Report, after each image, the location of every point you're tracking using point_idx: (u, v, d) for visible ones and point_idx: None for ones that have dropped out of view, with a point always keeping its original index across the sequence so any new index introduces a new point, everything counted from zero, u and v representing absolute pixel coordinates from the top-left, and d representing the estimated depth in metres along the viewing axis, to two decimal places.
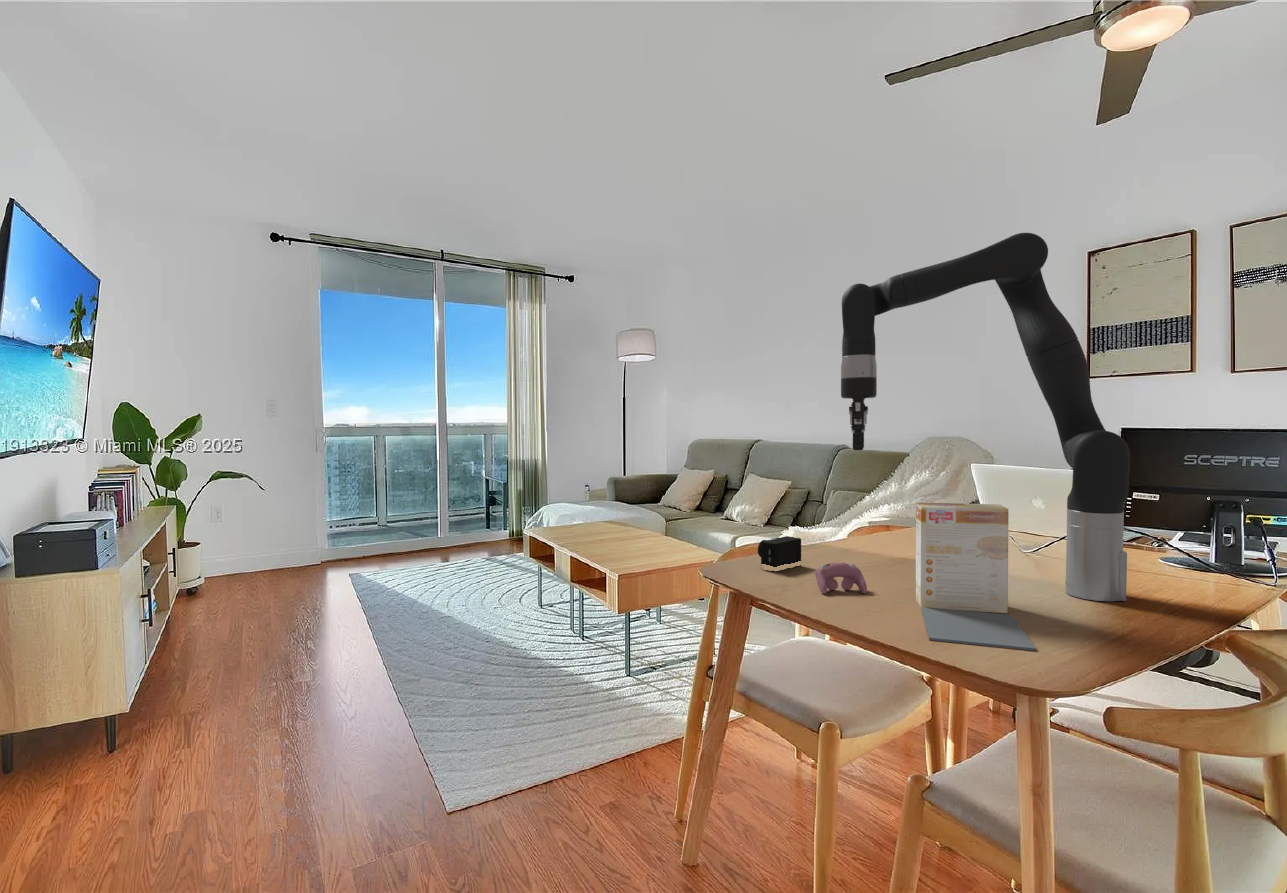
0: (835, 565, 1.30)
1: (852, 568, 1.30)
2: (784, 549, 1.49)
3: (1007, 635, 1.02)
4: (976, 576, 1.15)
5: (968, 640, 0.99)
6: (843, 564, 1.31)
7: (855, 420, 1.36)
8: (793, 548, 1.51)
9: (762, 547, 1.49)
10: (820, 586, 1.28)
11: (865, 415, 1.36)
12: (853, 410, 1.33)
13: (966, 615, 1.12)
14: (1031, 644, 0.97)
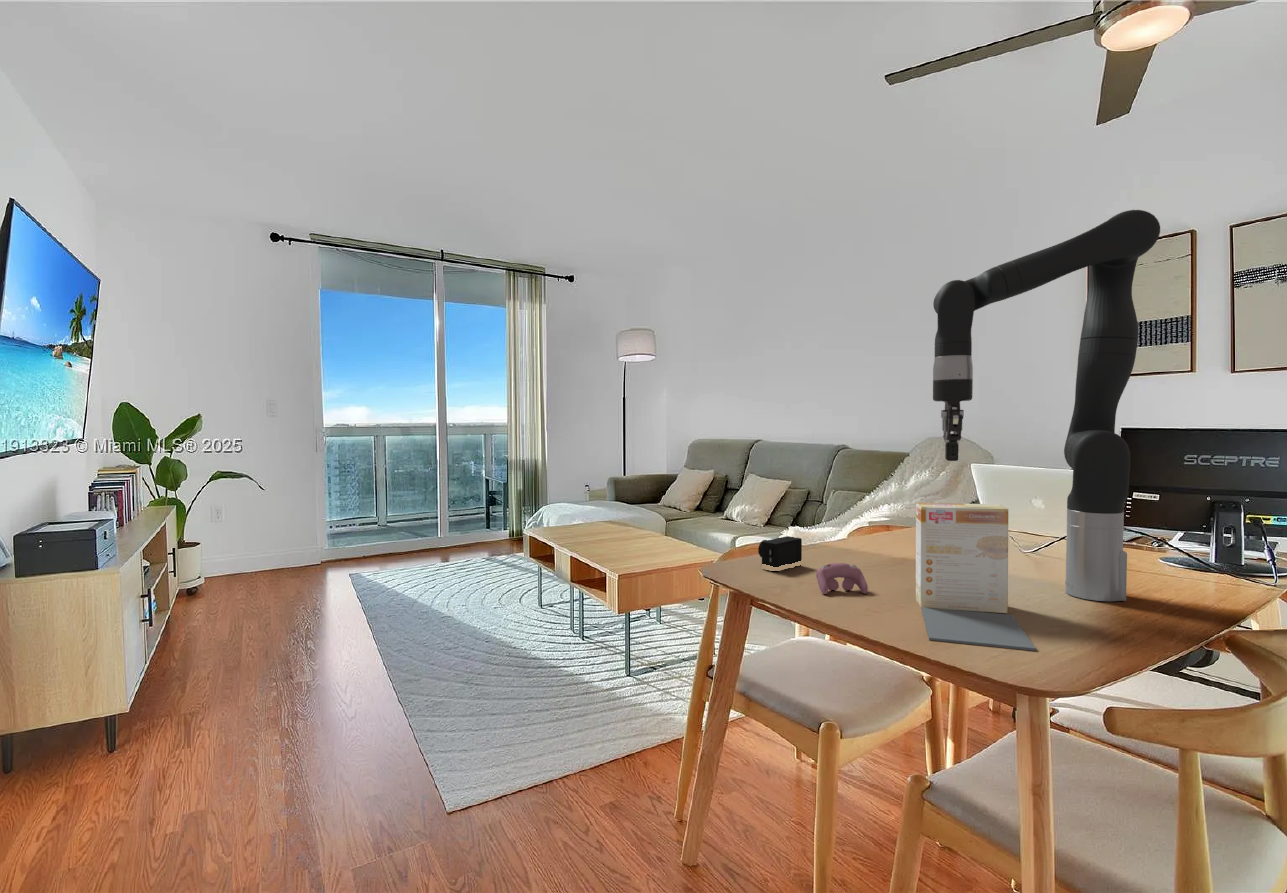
0: (836, 566, 1.30)
1: (853, 569, 1.30)
2: (784, 549, 1.49)
3: (1007, 635, 1.02)
4: (976, 576, 1.15)
5: (968, 640, 0.99)
6: (844, 564, 1.30)
7: None
8: (794, 548, 1.51)
9: (763, 547, 1.49)
10: (821, 587, 1.28)
11: None
12: (950, 424, 1.27)
13: (966, 615, 1.12)
14: (1031, 644, 0.97)
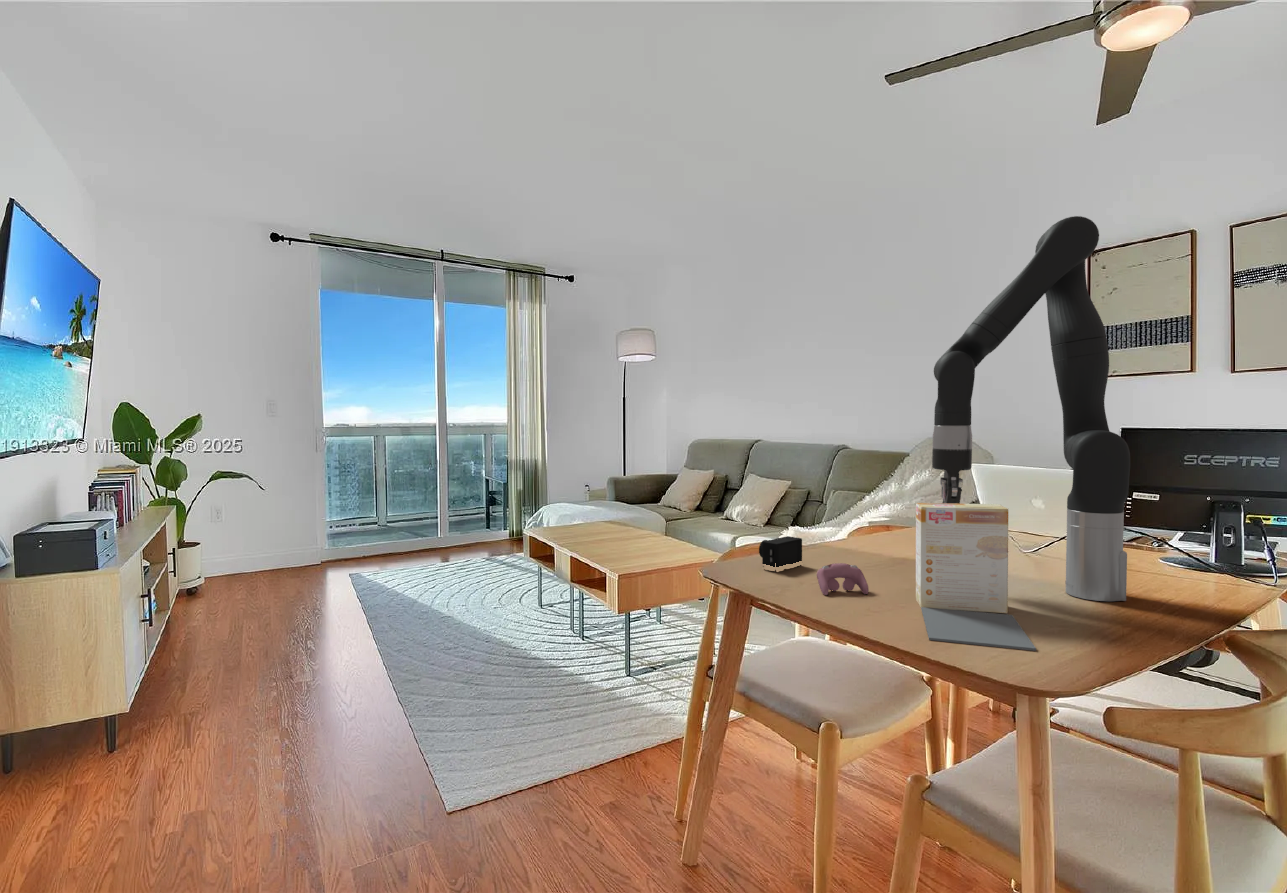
0: (837, 566, 1.30)
1: (853, 569, 1.30)
2: (785, 549, 1.49)
3: (1007, 635, 1.02)
4: (976, 576, 1.15)
5: (968, 640, 0.99)
6: (844, 565, 1.30)
7: None
8: (794, 548, 1.51)
9: (763, 547, 1.49)
10: (821, 587, 1.28)
11: None
12: (949, 496, 1.28)
13: (966, 615, 1.12)
14: (1031, 644, 0.97)
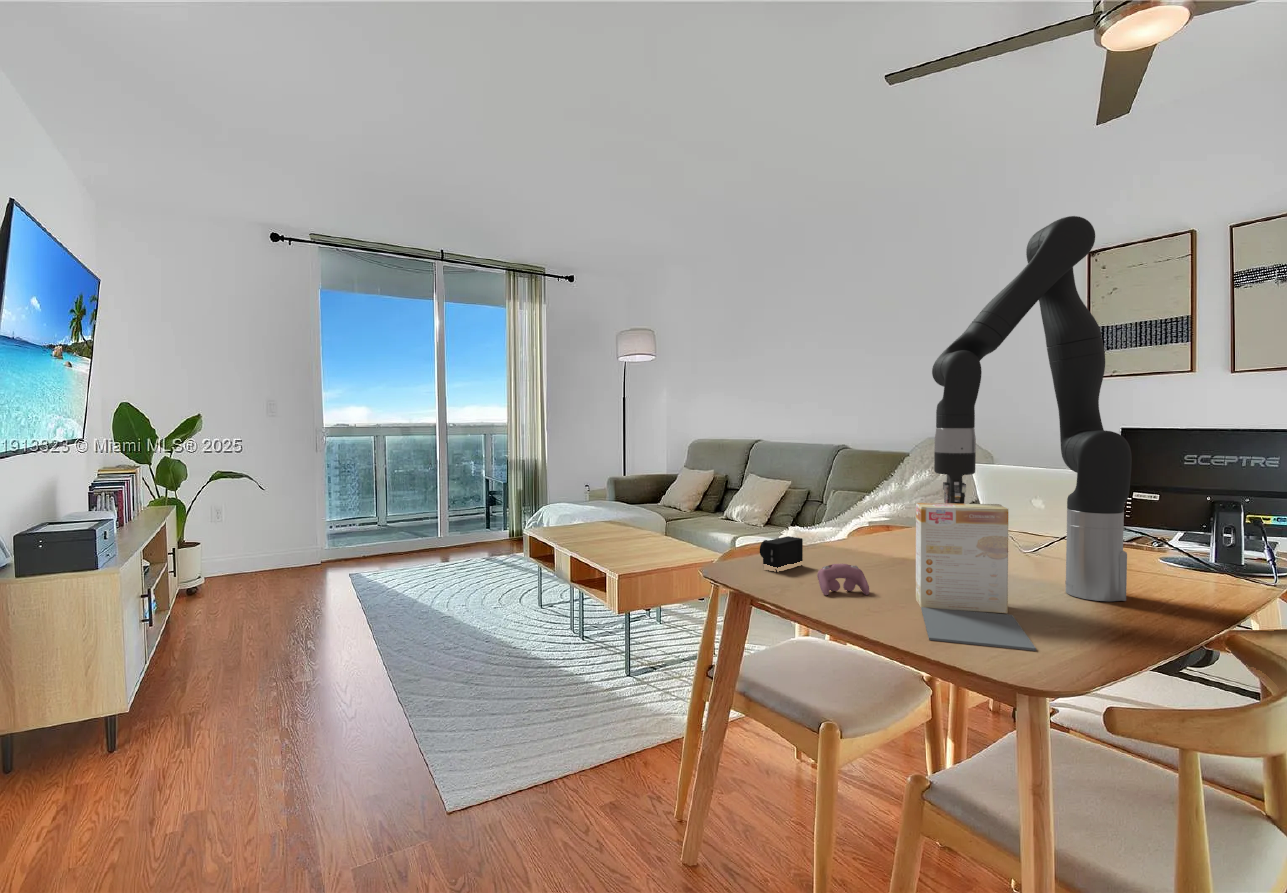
0: (838, 567, 1.29)
1: (854, 569, 1.29)
2: (786, 549, 1.49)
3: (1007, 635, 1.02)
4: (976, 576, 1.15)
5: (968, 640, 0.99)
6: (845, 565, 1.30)
7: None
8: (795, 548, 1.51)
9: (764, 547, 1.49)
10: (822, 587, 1.27)
11: None
12: (952, 501, 1.22)
13: (966, 615, 1.12)
14: (1031, 644, 0.97)
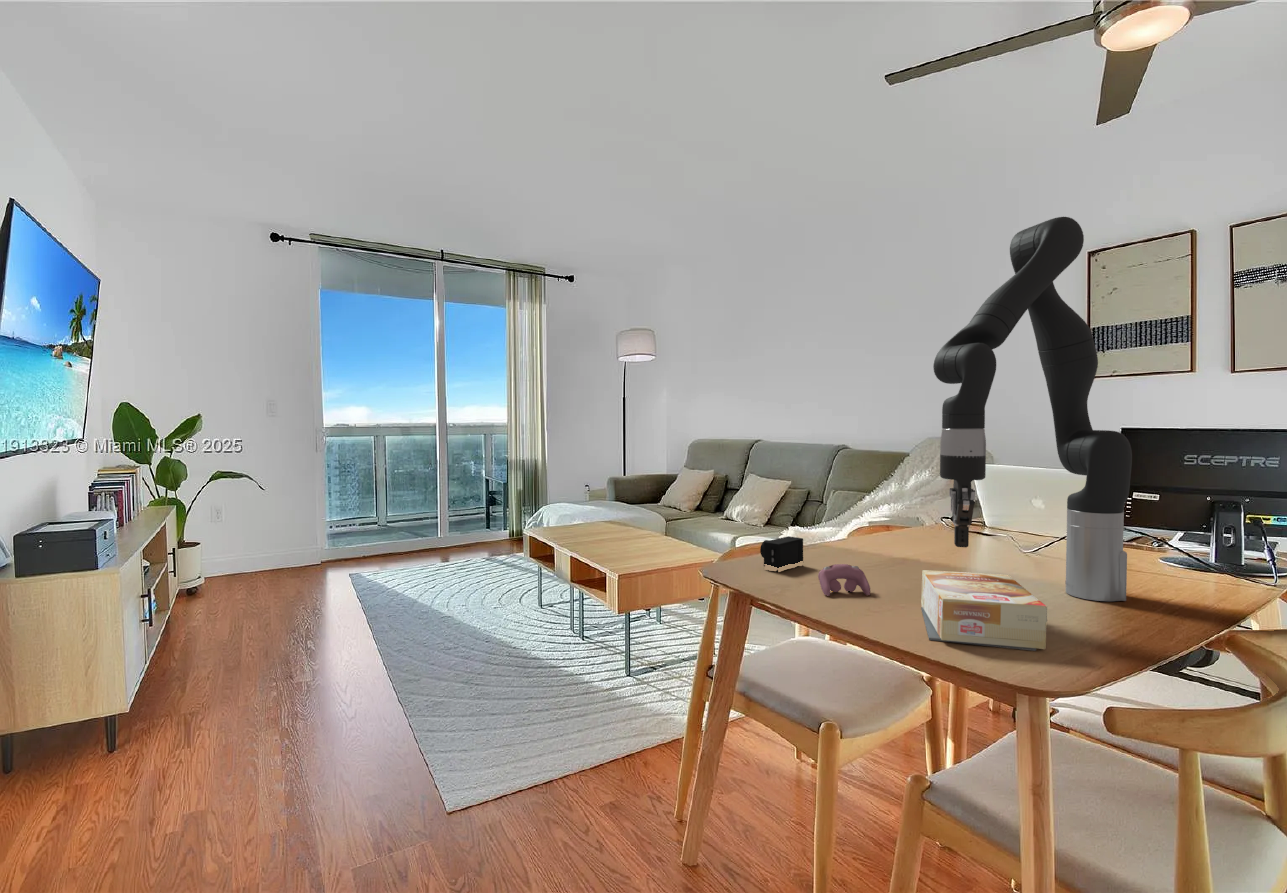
0: (838, 567, 1.29)
1: (855, 570, 1.29)
2: (786, 549, 1.48)
3: None
4: None
5: None
6: (846, 566, 1.29)
7: None
8: (795, 548, 1.51)
9: (765, 547, 1.49)
10: (823, 588, 1.27)
11: None
12: (960, 510, 1.11)
13: None
14: None
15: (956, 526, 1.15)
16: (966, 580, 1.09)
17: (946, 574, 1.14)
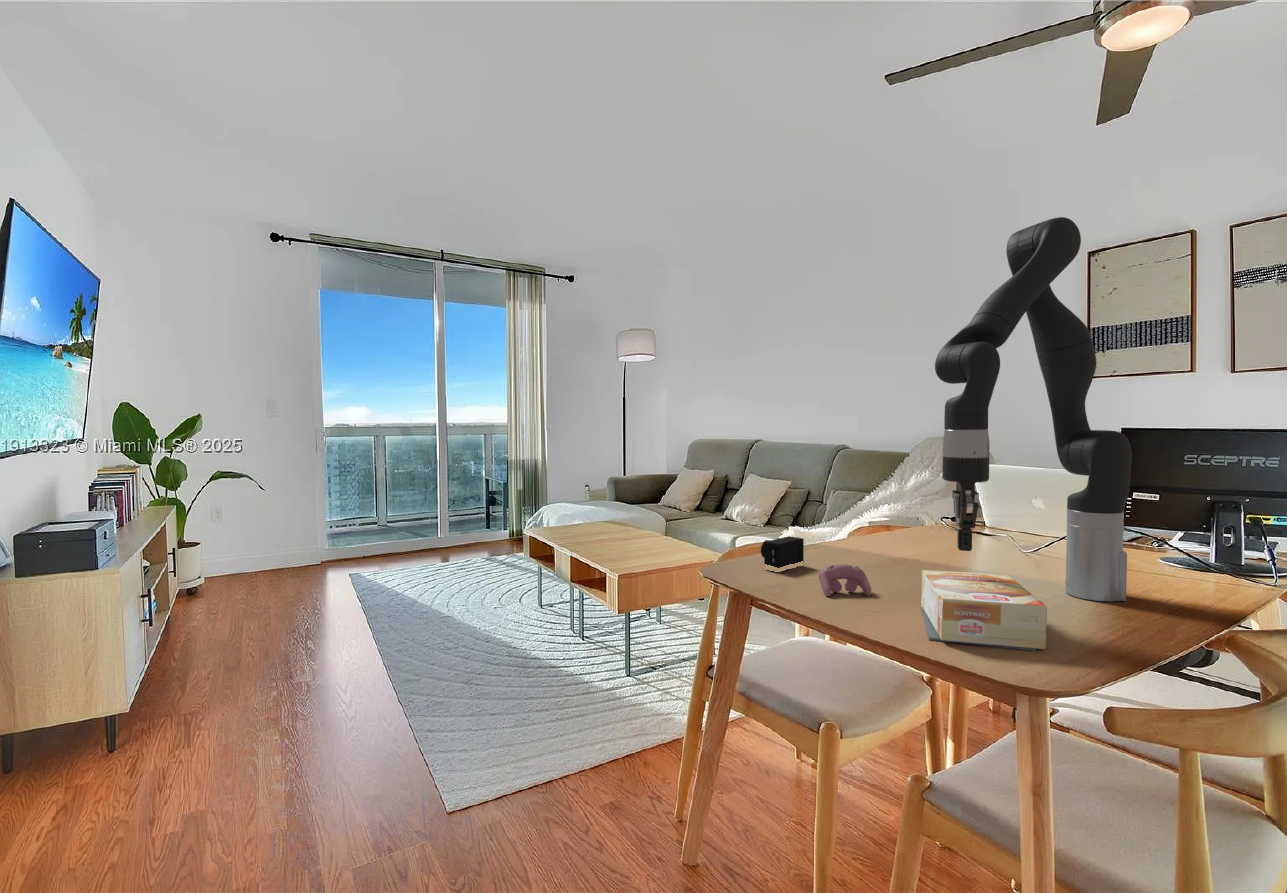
0: (839, 567, 1.29)
1: (856, 570, 1.29)
2: (787, 549, 1.48)
3: None
4: None
5: None
6: (847, 566, 1.29)
7: None
8: (796, 548, 1.51)
9: (765, 547, 1.49)
10: (824, 588, 1.27)
11: None
12: (963, 513, 1.08)
13: None
14: None
15: (959, 529, 1.12)
16: (966, 580, 1.09)
17: (946, 574, 1.14)
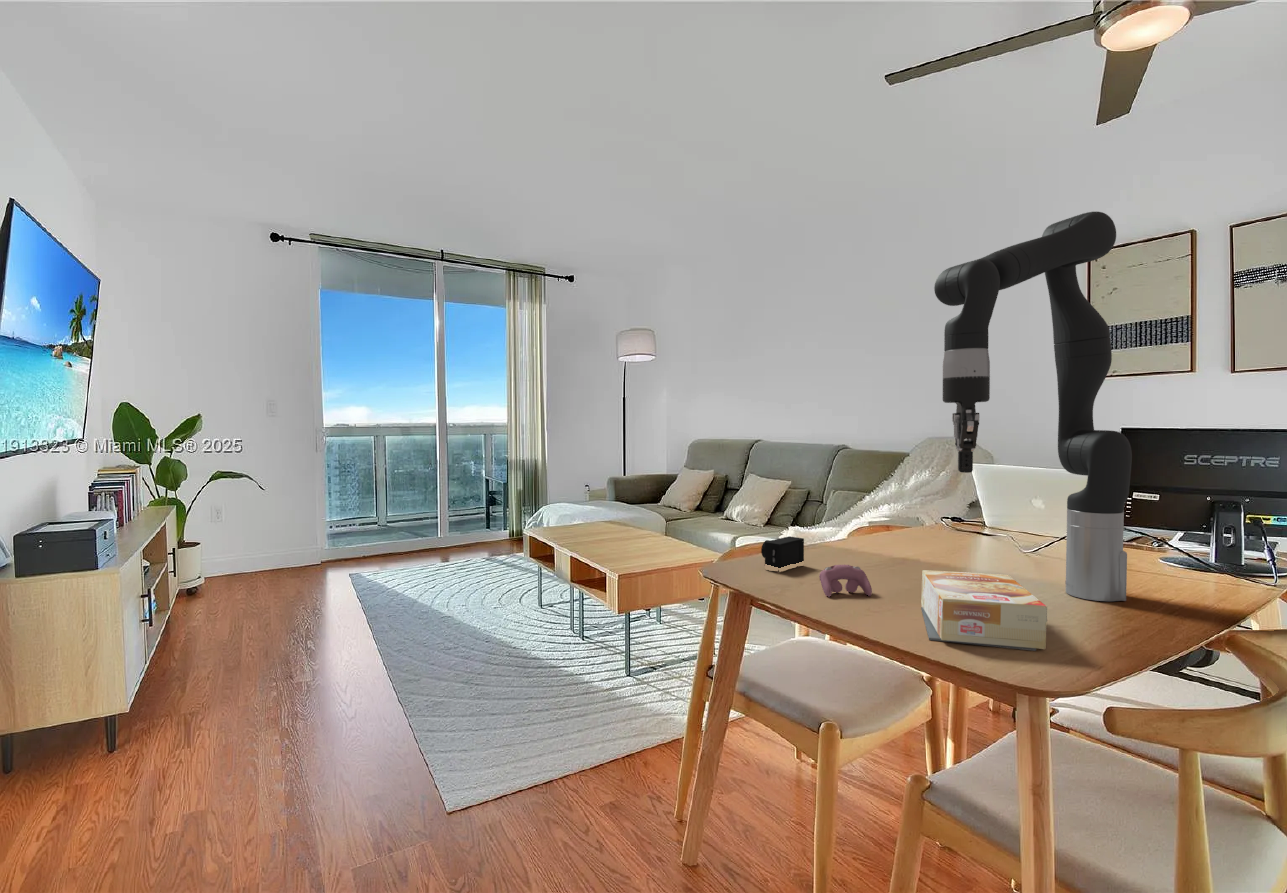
0: (840, 568, 1.28)
1: (857, 570, 1.28)
2: (787, 549, 1.48)
3: None
4: None
5: None
6: (847, 566, 1.29)
7: None
8: (796, 548, 1.51)
9: (766, 547, 1.49)
10: (824, 589, 1.26)
11: None
12: (964, 431, 1.07)
13: None
14: None
15: (960, 451, 1.12)
16: (966, 580, 1.09)
17: (946, 574, 1.14)
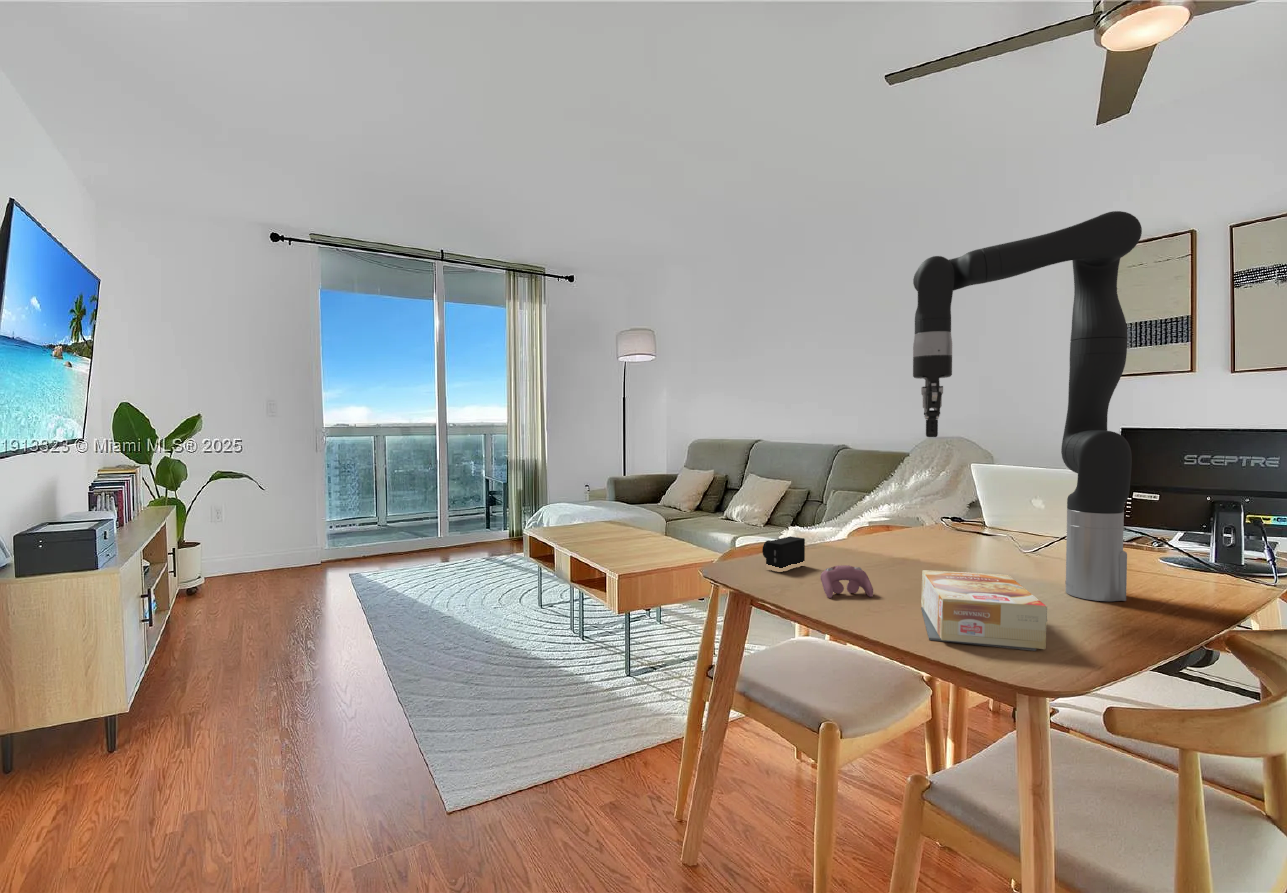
0: (841, 568, 1.28)
1: (858, 571, 1.28)
2: (789, 549, 1.48)
3: None
4: None
5: None
6: (849, 567, 1.28)
7: None
8: (797, 548, 1.51)
9: (767, 548, 1.48)
10: (826, 590, 1.26)
11: (940, 399, 1.30)
12: (929, 401, 1.27)
13: None
14: None
15: None
16: (966, 580, 1.09)
17: (946, 574, 1.14)
